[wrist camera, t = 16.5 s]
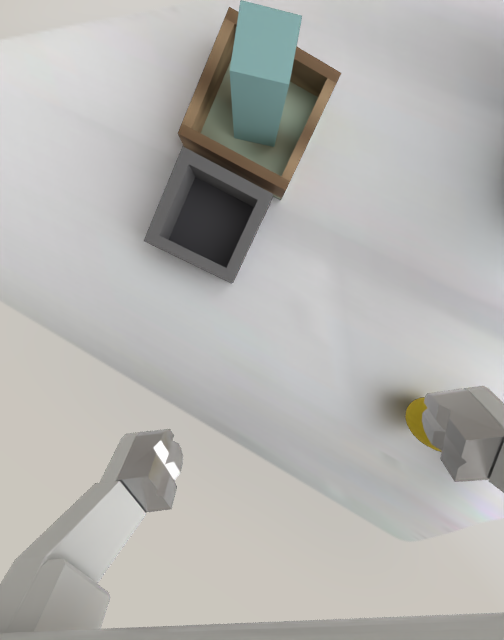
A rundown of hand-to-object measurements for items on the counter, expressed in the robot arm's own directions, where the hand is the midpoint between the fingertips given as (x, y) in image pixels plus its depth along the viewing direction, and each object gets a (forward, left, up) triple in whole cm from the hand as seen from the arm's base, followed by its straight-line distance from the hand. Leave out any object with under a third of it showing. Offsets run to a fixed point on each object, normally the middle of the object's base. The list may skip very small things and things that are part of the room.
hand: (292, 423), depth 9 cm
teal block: (-12, -18, -25) cm, 33 cm away
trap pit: (-1, -12, -25) cm, 28 cm away
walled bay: (-12, -18, -25) cm, 33 cm away
